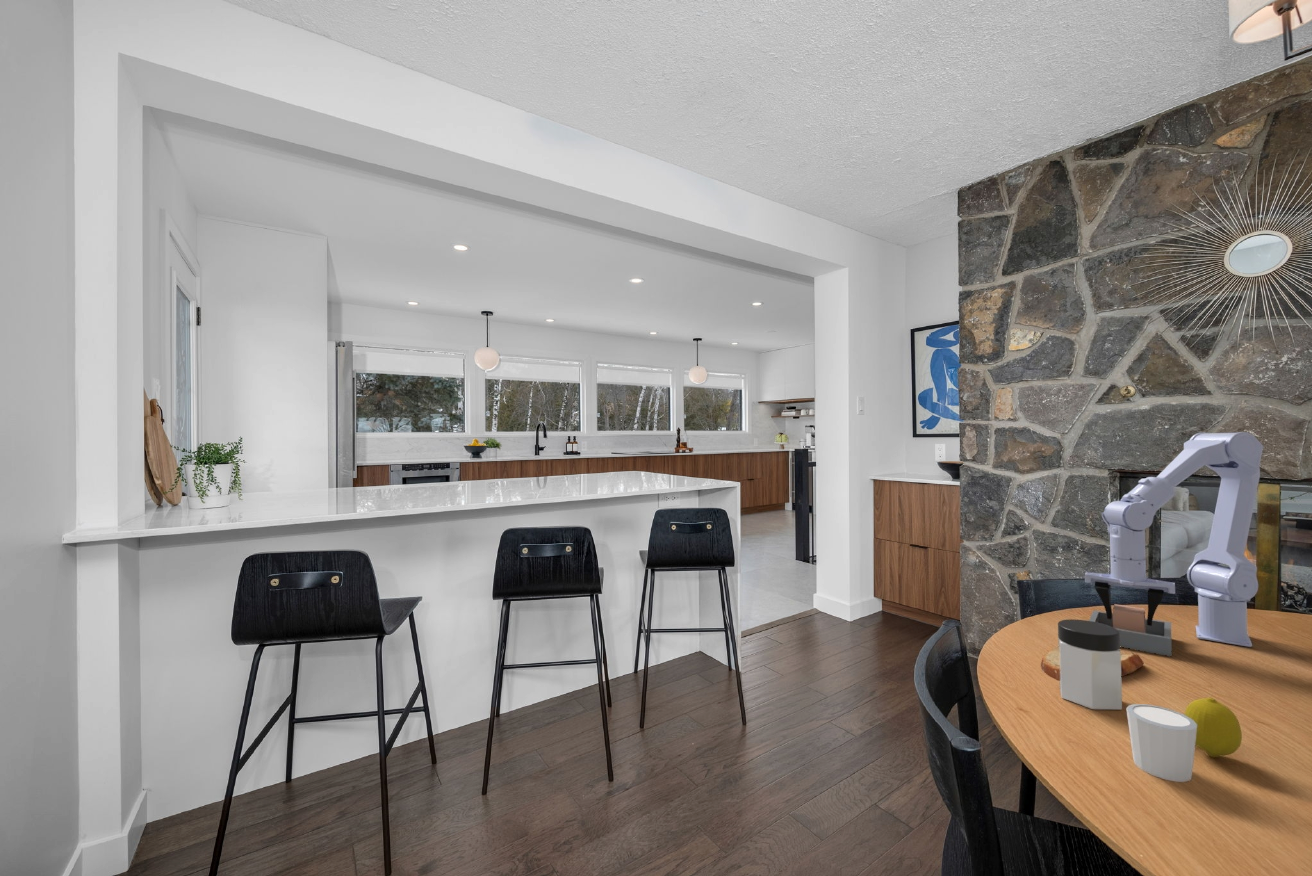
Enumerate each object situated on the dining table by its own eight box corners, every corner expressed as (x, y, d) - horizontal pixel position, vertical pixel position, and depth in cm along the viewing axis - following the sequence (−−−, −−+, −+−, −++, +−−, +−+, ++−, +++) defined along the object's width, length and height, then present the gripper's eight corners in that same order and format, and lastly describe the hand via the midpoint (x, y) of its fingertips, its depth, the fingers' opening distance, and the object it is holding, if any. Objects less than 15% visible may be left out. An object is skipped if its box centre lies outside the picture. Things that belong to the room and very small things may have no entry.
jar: (1135, 704, 89) (1133, 630, 89) (1108, 716, 85) (1106, 639, 85) (1073, 682, 97) (1071, 615, 97) (1046, 692, 93) (1044, 622, 93)
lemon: (1254, 770, 71) (1253, 709, 71) (1204, 766, 72) (1202, 705, 72) (1220, 747, 76) (1218, 690, 76) (1174, 743, 77) (1172, 687, 77)
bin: (1094, 625, 126) (1093, 610, 126) (1171, 638, 117) (1170, 622, 117) (1087, 640, 116) (1087, 624, 116) (1171, 656, 107) (1171, 638, 107)
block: (1115, 631, 120) (1114, 604, 120) (1145, 636, 117) (1144, 608, 117) (1113, 637, 116) (1112, 609, 116) (1144, 643, 113) (1144, 614, 113)
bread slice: (1051, 683, 98) (1050, 662, 98) (1023, 647, 114) (1023, 629, 114) (1178, 698, 91) (1178, 676, 91) (1130, 658, 108) (1129, 639, 108)
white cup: (1113, 755, 75) (1112, 704, 75) (1159, 751, 75) (1158, 701, 75) (1164, 786, 68) (1163, 730, 68) (1214, 782, 69) (1213, 727, 69)
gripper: (1082, 556, 119) (1084, 618, 119) (1174, 565, 109) (1176, 633, 109) (1086, 551, 124) (1087, 610, 124) (1174, 559, 114) (1175, 624, 114)
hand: (1129, 621), depth 117 cm, fingers open, 6 cm apart
